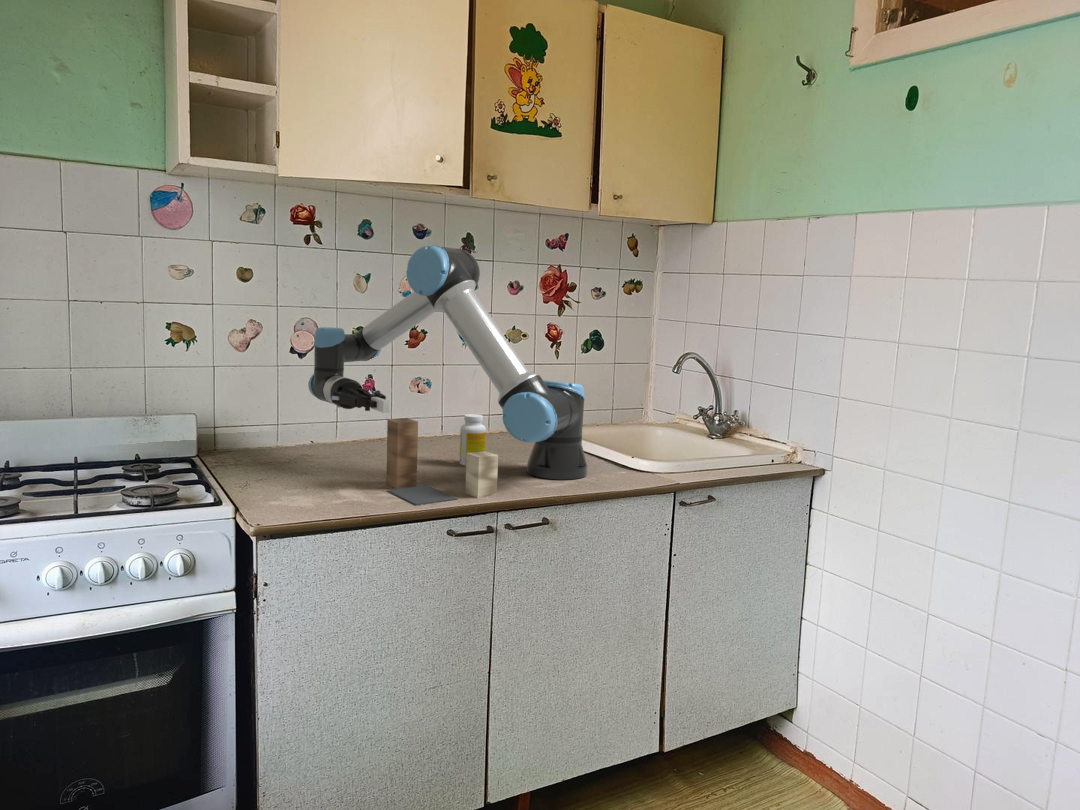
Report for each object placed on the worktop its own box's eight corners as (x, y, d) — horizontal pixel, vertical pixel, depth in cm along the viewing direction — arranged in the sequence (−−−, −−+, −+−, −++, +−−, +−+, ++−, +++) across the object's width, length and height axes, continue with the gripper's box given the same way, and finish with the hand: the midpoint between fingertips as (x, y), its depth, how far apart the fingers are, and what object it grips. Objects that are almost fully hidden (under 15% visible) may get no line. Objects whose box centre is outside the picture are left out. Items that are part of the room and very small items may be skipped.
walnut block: (406, 482, 182) (407, 418, 179) (416, 486, 178) (418, 421, 176) (386, 484, 179) (387, 419, 176) (396, 489, 175) (397, 423, 172)
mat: (427, 486, 179) (427, 484, 179) (457, 499, 169) (457, 498, 169) (387, 491, 173) (387, 490, 173) (416, 505, 163) (416, 504, 163)
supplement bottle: (490, 465, 203) (492, 416, 201) (470, 468, 198) (472, 418, 196) (473, 460, 207) (475, 412, 205) (454, 463, 203) (455, 414, 201)
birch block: (484, 490, 178) (485, 451, 176) (496, 495, 174) (498, 455, 172) (465, 492, 175) (466, 453, 173) (477, 498, 171) (479, 457, 169)
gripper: (367, 405, 205) (410, 421, 186) (319, 408, 197) (359, 424, 178) (367, 377, 203) (411, 389, 185) (319, 378, 195) (360, 391, 177)
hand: (386, 406), depth 182 cm, fingers closed
